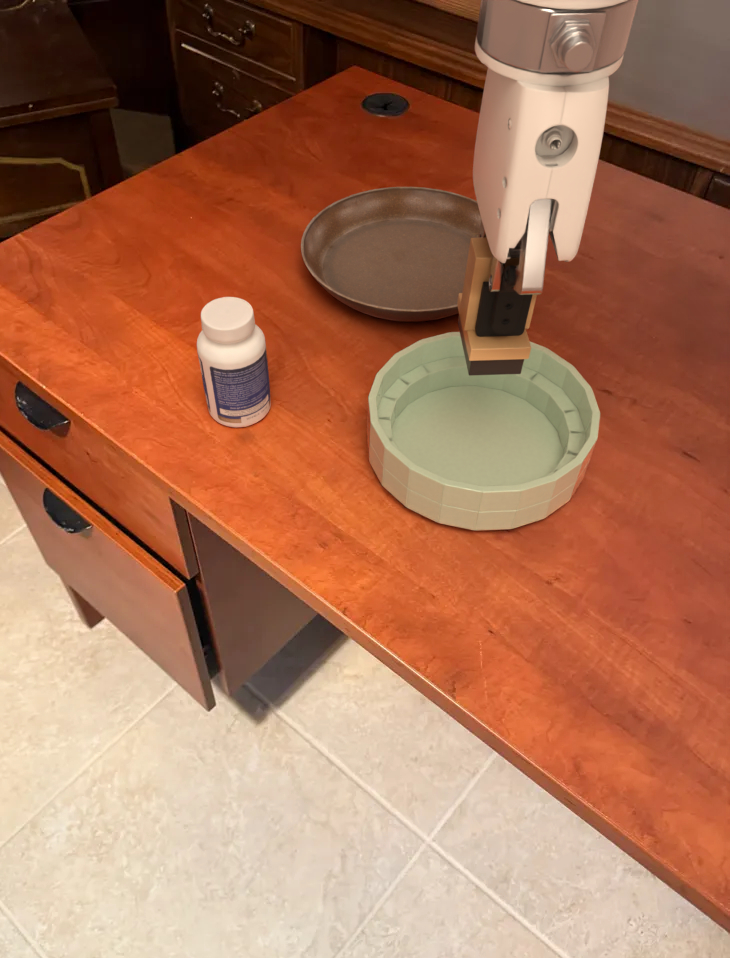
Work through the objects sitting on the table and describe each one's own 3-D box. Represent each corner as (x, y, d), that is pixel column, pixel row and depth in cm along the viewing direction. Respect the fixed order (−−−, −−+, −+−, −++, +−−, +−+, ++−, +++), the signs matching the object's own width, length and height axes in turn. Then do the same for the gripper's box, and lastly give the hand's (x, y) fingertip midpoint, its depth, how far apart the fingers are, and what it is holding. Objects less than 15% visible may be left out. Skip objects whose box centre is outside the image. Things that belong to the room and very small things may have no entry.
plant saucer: (333, 200, 88) (333, 171, 86) (527, 227, 85) (533, 197, 82) (275, 319, 77) (272, 289, 74) (497, 357, 73) (503, 327, 70)
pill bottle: (284, 405, 70) (277, 310, 62) (238, 439, 67) (225, 345, 60) (240, 376, 72) (228, 281, 64) (194, 408, 70) (176, 313, 62)
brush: (451, 321, 60) (466, 220, 53) (511, 320, 60) (534, 218, 53) (463, 378, 56) (480, 276, 50) (527, 376, 56) (553, 274, 50)
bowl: (558, 373, 72) (571, 327, 68) (607, 530, 61) (625, 486, 57) (360, 381, 71) (361, 335, 67) (375, 539, 61) (378, 496, 57)
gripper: (674, 96, 37) (575, 400, 51) (591, -41, 46) (527, 248, 61) (506, 100, 36) (455, 403, 51) (457, -39, 46) (426, 251, 61)
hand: (495, 317), depth 56 cm, fingers closed on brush, 2 cm apart
